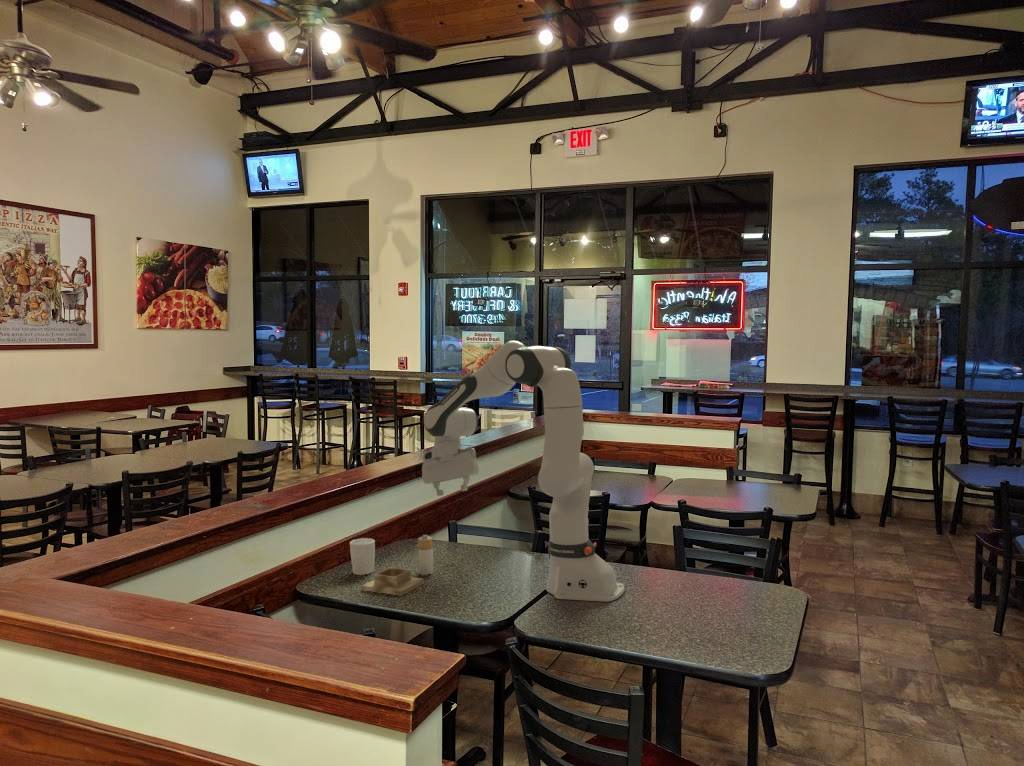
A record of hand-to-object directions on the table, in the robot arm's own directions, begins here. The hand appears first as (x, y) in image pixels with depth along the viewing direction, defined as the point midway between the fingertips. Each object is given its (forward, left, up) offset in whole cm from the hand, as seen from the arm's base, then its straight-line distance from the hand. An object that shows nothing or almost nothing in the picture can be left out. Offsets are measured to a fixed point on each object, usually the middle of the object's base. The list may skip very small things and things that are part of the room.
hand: (452, 493), depth 234 cm
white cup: (+23, +18, -23) cm, 38 cm away
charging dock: (+5, +27, -23) cm, 36 cm away
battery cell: (+3, +12, -23) cm, 27 cm away
